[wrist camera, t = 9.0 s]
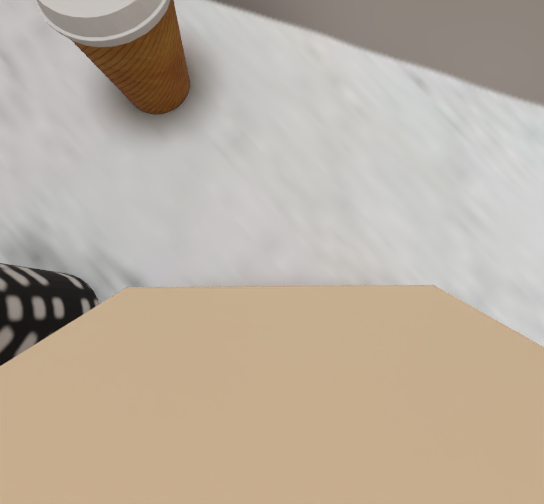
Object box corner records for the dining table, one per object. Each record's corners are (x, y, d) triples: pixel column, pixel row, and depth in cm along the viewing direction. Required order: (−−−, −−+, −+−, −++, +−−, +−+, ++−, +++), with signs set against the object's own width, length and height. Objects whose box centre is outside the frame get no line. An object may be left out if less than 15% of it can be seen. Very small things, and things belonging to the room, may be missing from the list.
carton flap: (824, 537, 5) (833, 511, 5) (-224, 537, 5) (-232, 510, 5) (433, 293, 18) (433, 285, 18) (127, 296, 18) (126, 287, 18)
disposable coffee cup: (178, 28, 34) (125, -123, 22) (223, 100, 32) (192, -19, 20) (95, 70, 33) (-6, -62, 21) (137, 146, 32) (54, 50, 20)
